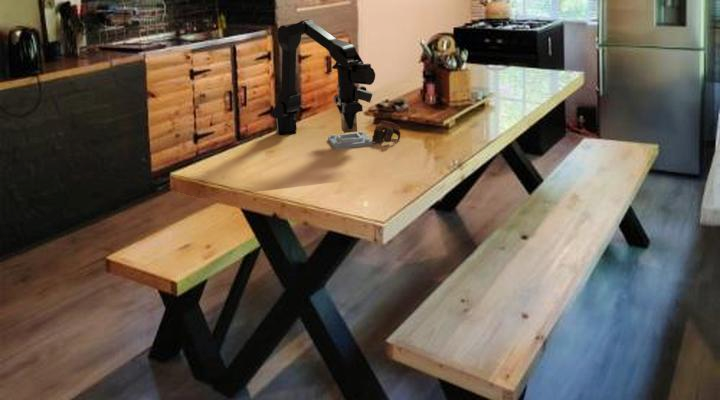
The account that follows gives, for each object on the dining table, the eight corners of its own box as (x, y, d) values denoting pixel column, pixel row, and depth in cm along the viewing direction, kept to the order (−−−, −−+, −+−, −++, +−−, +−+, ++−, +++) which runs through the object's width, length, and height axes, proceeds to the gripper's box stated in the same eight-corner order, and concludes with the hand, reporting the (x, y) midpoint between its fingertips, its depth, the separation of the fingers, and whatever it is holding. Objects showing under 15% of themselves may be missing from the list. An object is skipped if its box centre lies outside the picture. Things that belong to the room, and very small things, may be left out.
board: (335, 149, 254) (335, 143, 253) (328, 140, 266) (327, 133, 265) (372, 145, 256) (372, 138, 256) (363, 136, 268) (363, 130, 268)
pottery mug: (367, 141, 264) (375, 119, 264) (391, 150, 266) (399, 128, 266) (375, 140, 252) (384, 117, 252) (401, 150, 254) (409, 127, 254)
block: (344, 132, 257) (343, 115, 255) (341, 129, 261) (340, 112, 259) (357, 131, 258) (356, 114, 256) (354, 128, 262) (353, 111, 260)
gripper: (376, 85, 247) (378, 131, 252) (363, 75, 264) (365, 119, 270) (343, 88, 245) (346, 134, 250) (332, 78, 262) (335, 122, 267)
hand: (349, 127), depth 259 cm, fingers closed on block, 4 cm apart
